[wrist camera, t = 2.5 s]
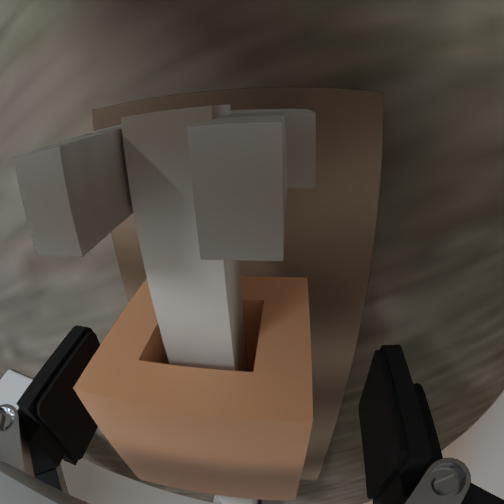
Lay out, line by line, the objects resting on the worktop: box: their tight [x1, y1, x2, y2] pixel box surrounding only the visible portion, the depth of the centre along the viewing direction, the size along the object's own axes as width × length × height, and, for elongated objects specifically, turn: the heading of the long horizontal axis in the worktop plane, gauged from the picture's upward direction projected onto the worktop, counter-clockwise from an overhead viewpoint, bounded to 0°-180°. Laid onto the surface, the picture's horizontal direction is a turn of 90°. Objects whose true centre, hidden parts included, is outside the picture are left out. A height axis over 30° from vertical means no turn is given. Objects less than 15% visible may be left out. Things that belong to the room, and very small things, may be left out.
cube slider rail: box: [14, 87, 383, 504], centre depth 13 cm, size 28×10×8 cm, turn 2°
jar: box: [0, 369, 33, 410], centre depth 18 cm, size 9×8×12 cm
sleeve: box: [73, 276, 313, 501], centre depth 9 cm, size 5×5×5 cm
